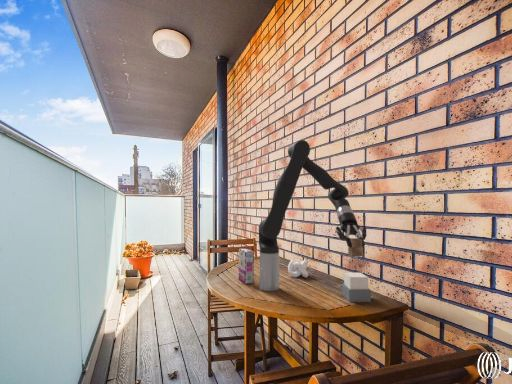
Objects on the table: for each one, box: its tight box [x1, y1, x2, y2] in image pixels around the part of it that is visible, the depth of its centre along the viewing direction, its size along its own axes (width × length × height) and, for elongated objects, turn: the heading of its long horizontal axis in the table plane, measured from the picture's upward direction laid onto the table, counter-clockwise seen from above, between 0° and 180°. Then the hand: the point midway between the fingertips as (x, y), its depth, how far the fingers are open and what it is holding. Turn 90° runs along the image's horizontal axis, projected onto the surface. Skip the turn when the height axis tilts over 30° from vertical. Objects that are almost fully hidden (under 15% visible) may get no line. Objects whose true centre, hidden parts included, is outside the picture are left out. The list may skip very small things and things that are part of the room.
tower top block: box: [343, 272, 369, 289], centre depth 108 cm, size 8×8×5 cm
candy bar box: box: [238, 248, 255, 285], centre depth 133 cm, size 11×5×16 cm, turn 22°
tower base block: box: [341, 282, 372, 303], centre depth 108 cm, size 9×9×5 cm
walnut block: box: [347, 237, 364, 257], centre depth 109 cm, size 4×4×7 cm
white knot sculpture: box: [287, 258, 309, 278], centre depth 142 cm, size 11×12×9 cm
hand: (356, 246), depth 107 cm, fingers closed on walnut block, 4 cm apart
